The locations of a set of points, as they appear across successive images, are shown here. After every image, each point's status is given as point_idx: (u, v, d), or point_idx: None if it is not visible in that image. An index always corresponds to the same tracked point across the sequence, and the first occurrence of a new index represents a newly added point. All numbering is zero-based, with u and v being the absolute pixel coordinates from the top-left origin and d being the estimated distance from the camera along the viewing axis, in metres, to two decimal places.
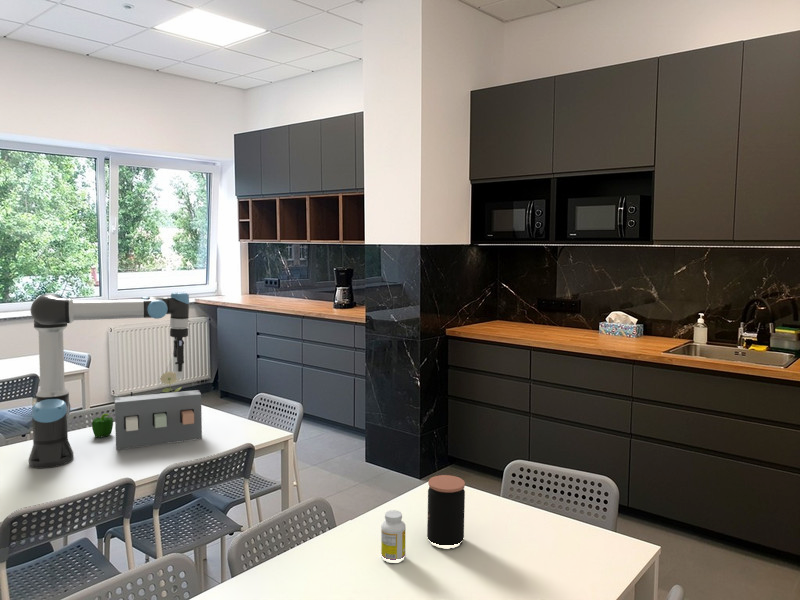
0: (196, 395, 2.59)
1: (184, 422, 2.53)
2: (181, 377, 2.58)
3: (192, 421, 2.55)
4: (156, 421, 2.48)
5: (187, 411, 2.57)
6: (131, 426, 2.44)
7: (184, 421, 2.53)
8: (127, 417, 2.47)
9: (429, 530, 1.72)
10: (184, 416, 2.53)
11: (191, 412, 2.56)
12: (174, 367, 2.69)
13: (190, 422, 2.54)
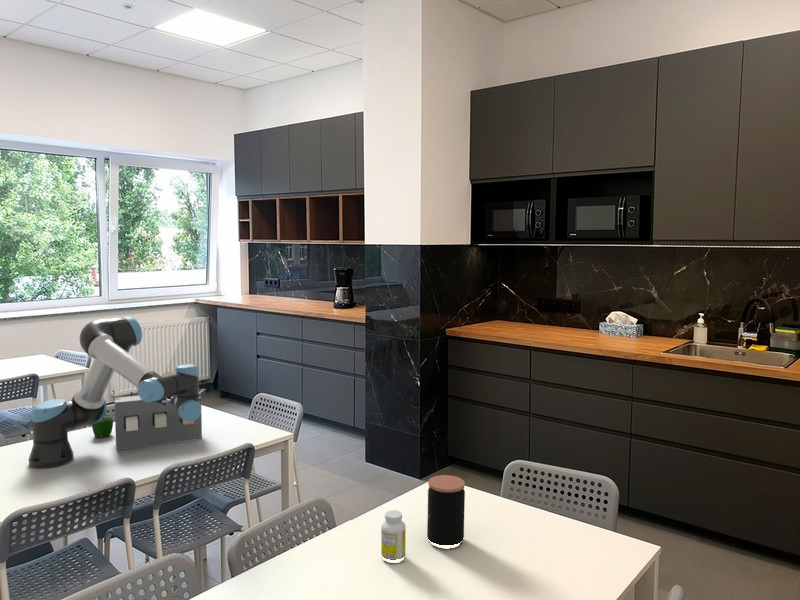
0: None
1: (184, 422, 2.53)
2: None
3: (192, 421, 2.55)
4: (156, 421, 2.48)
5: None
6: (131, 426, 2.44)
7: (184, 421, 2.53)
8: (127, 417, 2.47)
9: (429, 530, 1.72)
10: None
11: None
12: None
13: (190, 422, 2.54)
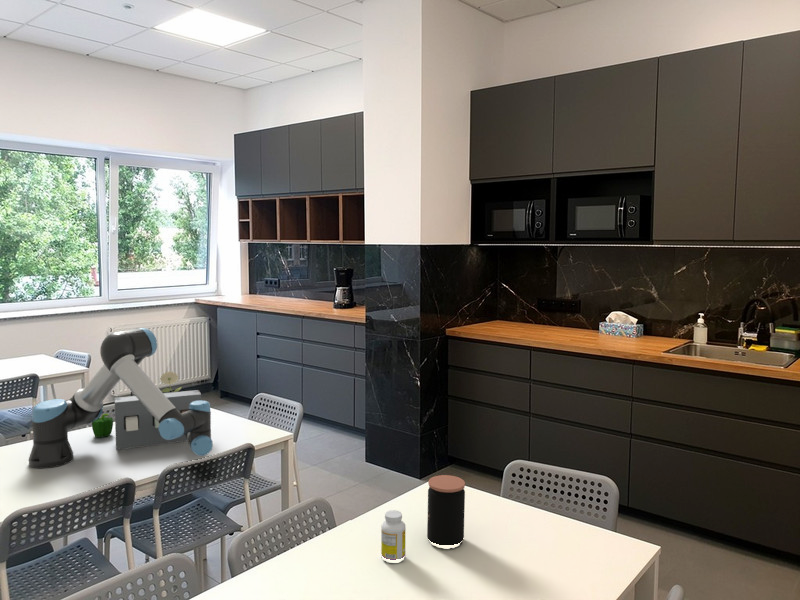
0: (196, 395, 2.59)
1: None
2: None
3: None
4: (156, 421, 2.48)
5: None
6: (131, 426, 2.44)
7: None
8: (127, 417, 2.47)
9: (429, 530, 1.72)
10: None
11: None
12: None
13: None
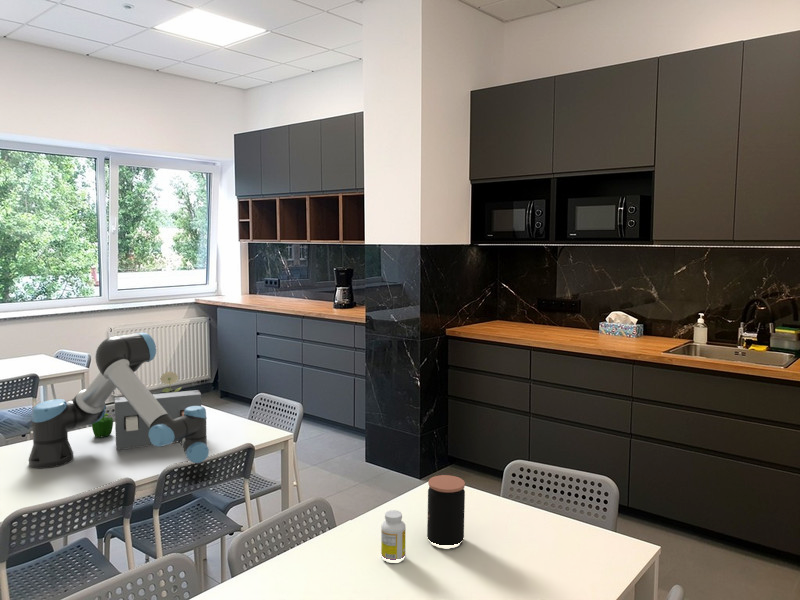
0: (196, 395, 2.59)
1: None
2: None
3: None
4: None
5: None
6: (131, 426, 2.44)
7: None
8: (127, 417, 2.47)
9: (429, 530, 1.72)
10: (183, 414, 2.56)
11: None
12: None
13: None
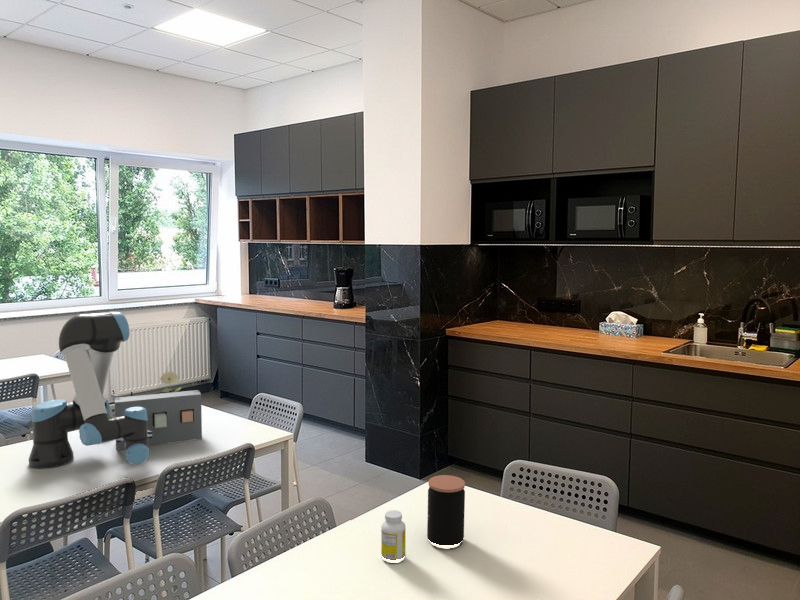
0: (196, 395, 2.59)
1: (183, 420, 2.56)
2: None
3: (191, 419, 2.58)
4: (156, 421, 2.48)
5: None
6: None
7: (183, 419, 2.56)
8: None
9: (429, 530, 1.72)
10: (183, 414, 2.56)
11: (190, 410, 2.59)
12: None
13: (189, 420, 2.57)
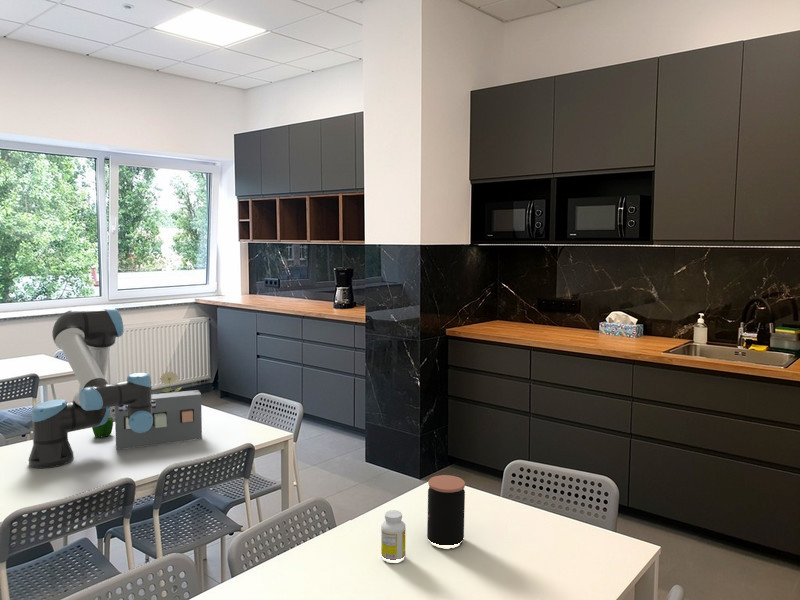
0: (196, 395, 2.59)
1: (183, 420, 2.56)
2: None
3: (191, 419, 2.58)
4: (156, 421, 2.48)
5: None
6: None
7: (183, 419, 2.56)
8: None
9: (429, 530, 1.72)
10: (183, 414, 2.56)
11: (190, 410, 2.59)
12: None
13: (189, 420, 2.57)
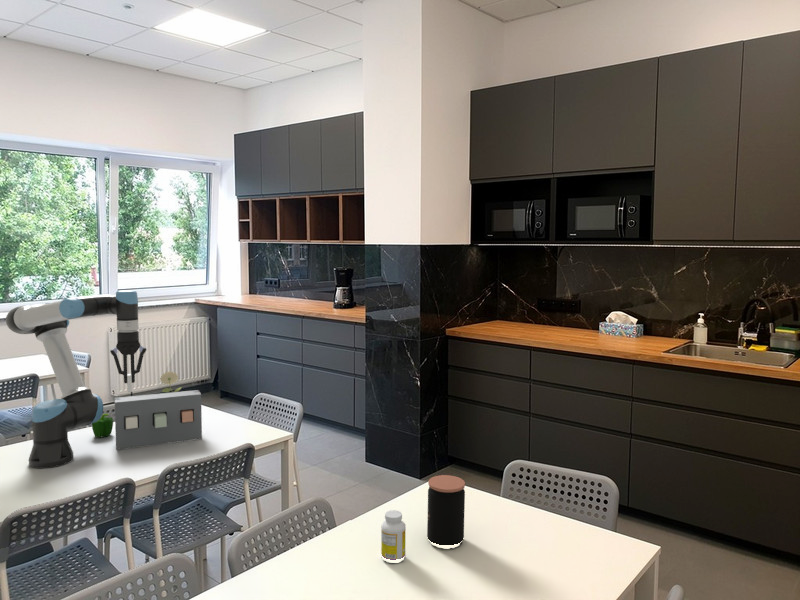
0: (196, 395, 2.59)
1: (183, 420, 2.56)
2: (127, 390, 2.29)
3: (191, 419, 2.58)
4: (156, 421, 2.48)
5: None
6: (130, 424, 2.47)
7: (183, 419, 2.56)
8: None
9: (429, 530, 1.72)
10: (183, 414, 2.56)
11: (190, 410, 2.59)
12: None
13: (189, 420, 2.57)
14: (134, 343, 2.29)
